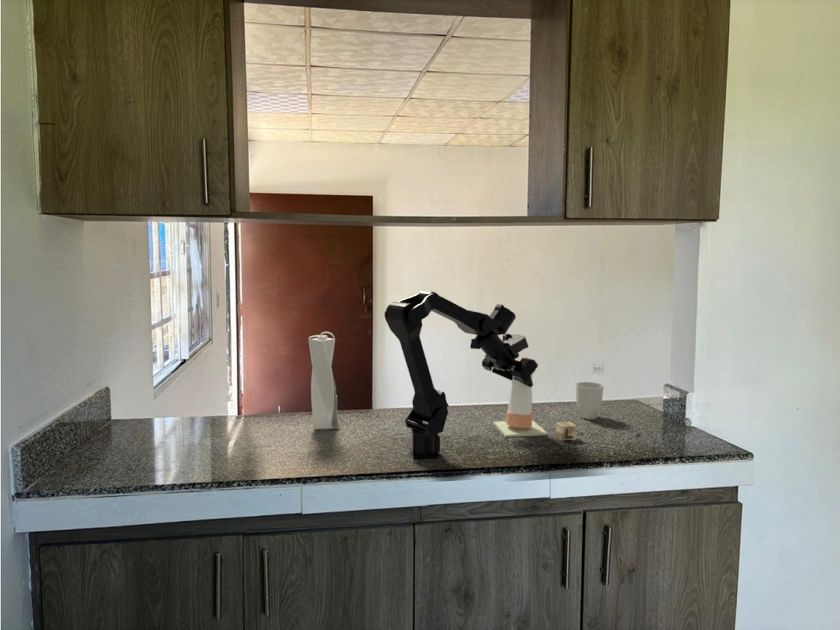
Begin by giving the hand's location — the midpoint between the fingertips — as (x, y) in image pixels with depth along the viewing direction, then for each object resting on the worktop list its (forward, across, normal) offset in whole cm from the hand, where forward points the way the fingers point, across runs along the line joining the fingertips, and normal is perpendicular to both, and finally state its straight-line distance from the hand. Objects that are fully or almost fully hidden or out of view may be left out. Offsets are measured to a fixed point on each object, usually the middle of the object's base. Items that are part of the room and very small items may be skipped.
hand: (524, 383), depth 158 cm
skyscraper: (-25, +27, +45) cm, 58 cm away
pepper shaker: (+7, 0, +10) cm, 12 cm away
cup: (+27, 0, -9) cm, 29 cm away
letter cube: (+13, -12, +6) cm, 18 cm away
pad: (+8, 0, +10) cm, 13 cm away
